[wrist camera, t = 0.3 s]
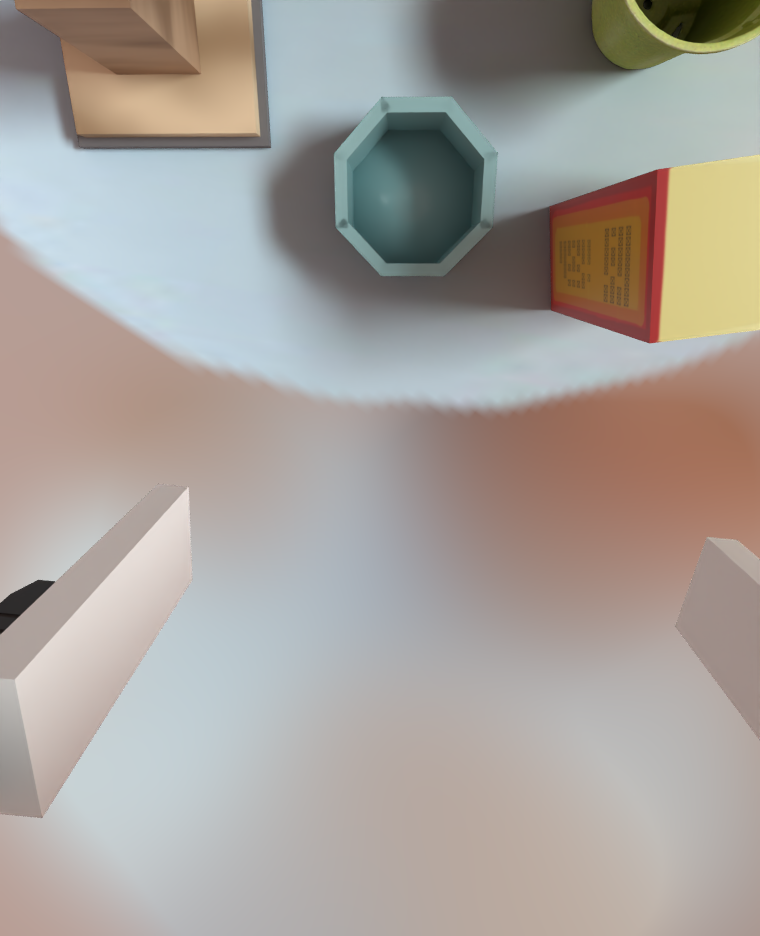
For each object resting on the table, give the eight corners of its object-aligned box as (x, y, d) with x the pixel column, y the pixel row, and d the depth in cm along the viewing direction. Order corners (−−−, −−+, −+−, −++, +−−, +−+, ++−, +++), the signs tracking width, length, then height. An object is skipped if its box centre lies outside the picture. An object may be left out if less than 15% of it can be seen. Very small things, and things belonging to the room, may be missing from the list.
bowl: (341, 119, 34) (331, 97, 29) (487, 118, 33) (502, 95, 29) (344, 274, 37) (336, 276, 32) (477, 274, 37) (489, 276, 32)
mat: (42, -98, 30) (35, -105, 30) (255, -102, 30) (252, -108, 29) (84, 148, 35) (79, 146, 34) (271, 147, 34) (269, 146, 34)
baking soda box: (701, 184, 34) (934, 128, 19) (693, 292, 37) (896, 314, 22) (549, 206, 35) (662, 167, 20) (551, 310, 37) (653, 344, 22)
